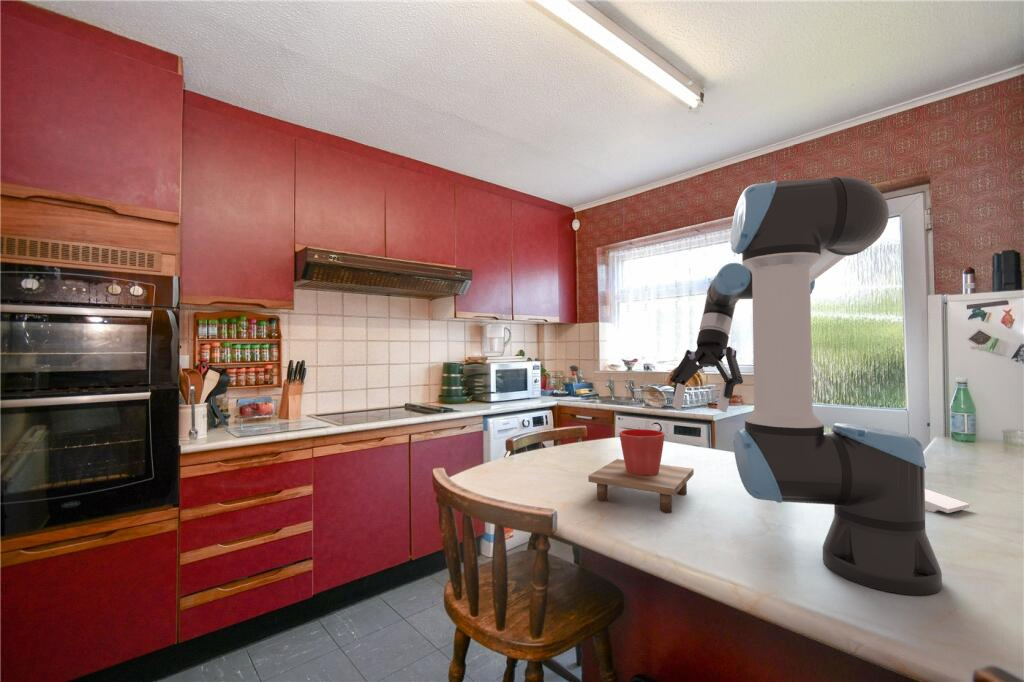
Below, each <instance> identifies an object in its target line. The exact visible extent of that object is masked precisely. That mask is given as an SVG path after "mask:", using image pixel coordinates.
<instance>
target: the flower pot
mask: <svg viewBox="0 0 1024 682" xmlns="http://www.w3.org/2000/svg"><path fill="white" fill-rule="evenodd" d="M619 439H620V445H621V450H622V451H621V452H622V458H623V460H624V462H625V466H626V470H627V472H629V473H631V474H635V475H655V474H657V473H659V468H660V464H661V462H662V456H663V449H664V444H665V443H664V441H665V433H664V432H663V431H661V430H654V429H644V428H642V429H641V428H633V429H624V430H620V431H619Z"/></svg>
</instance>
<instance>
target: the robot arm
mask: <svg viewBox="0 0 1024 682" xmlns="http://www.w3.org/2000/svg"><path fill="white" fill-rule="evenodd" d="M889 211H890V210H889V205H888V202H887V200H886V198H885V196H884V194H883V193H882V192H881V191H880V190H879V189H878V188H877V187H876V186H875V185H873V184H871V183H870V182H869V181H866V180H863V179H861V178H857V177H852V176H833V177H824V178H823V177H822V178H810V179H809V178H808V179H807V178H806V179H795V180H793V179H792V180H791V179H790V180H779V181H778V180H772V181H770V182H763V183H762V182H761V183H755V184H751V185H749V186H747V187H746V188H745V189H744V190H743V191H742V193H741V194H740V196H739V199H738V201H737V204H736V207H735V210H734V214H733V219H732V224H731V230H730V231H731V232H730V245H731V246H730V249H731V251H732V253H734V254H737V255H740V254H741V256H742V257H741V258H742V259H741V260H742V261H741V262H742V263H738V262H728V263H726V264H723V266H721V268H719V270H718V271H717V272H716V274H715V276H714V278H713V279H712V280H711V281H710V283H709V286H708V288H707V290H706V291H707V292H706V300H705V303H704V308H703V313H702V317H701V321H700V325H699V331H698V334H697V339H696V346H697V347H696V350H695V351H692V350H690V349H687V350H686V351H685V353H684V357H683V358H682V360H681V361H680V363H679V364H678V365H677V368H675V371H674V372H673V373H672V375H671V376H670V378H669V380H670V382H672V383H673V384H674V388H673V392H672V393H673V400H672V401H673V402H672V405H671V407H673V408H674V409H676V410H680V411H681V410H682V407H683V401H684V399H685V398H684V397H685V394H686V389H687V388H686V387H687V386H685V384H686V383H688V382H689V381H690V380H691V378H692V377H693V376H695V374H696V373H697V372H698V371H699V370H702V369H703V368H709V367H711V368H716V369H717V371H718V372H719V374H720V376H721V377H722V378H723V380H724V381H723V382H722V383H721V385H720V389H719V396H718V400H717V405H716V409H717V410H719V411H721V412H722V413H727V411H728V407H729V406H728V405H729V401H730V399H732V397H733V394H734V393H733V392H734V388H735V386H736V385H742V384H743V383H744V380H743V377H742V373H741V370H740V366H739V363H738V360H737V350H736V349H734V348H733V347H731V346H728V344H729V339H730V337H729V336H730V333H731V329H732V328H731V327H732V323H733V317H734V312H735V309H736V305H737V303H738V302H739V300H752V340H753V341H752V345H753V346H752V347H753V349H752V350H753V353H752V354H753V395H754V396H753V405H754V406H753V410H752V411H751V412H750V413H748V415H747V416H746V417H745V418H744V428H740V429H736V431H734V433H733V453H734V459H735V464H736V467H737V471H738V475H739V478H740V480H741V484H742V485H743V487H744V489H745V490H746V492H747V493H748V495H749V496H751V497H752V498H754V499H757V500H762V501H769V502H776V503H777V504H781V503H798V504H799V503H800V504H814V505H816V504H817V505H831V506H834V507H833V510H834V511H833V512H834V513H833V514H834V515H833V519H832V521H831V524H830V527H829V529H828V530H827V531H828V532H827V535H826V536H825V539H824V541H823V545H822V561H823V563H824V565H825V566H826V567H827V568H828V569H830V570H831V571H832V572H834V573H835V574H837V575H839V576H840V577H843V578H845V579H847V580H849V581H852V582H854V583H857V584H860V585H862V586H866V587H868V588H872V589H877V590H880V591H884V592H890V593H894V594H901V595H910V596H912V595H913V596H919V595H920V596H924V595H926V596H927V595H932V594H936V593H939V592H941V590H942V588H943V573H942V569H941V567H940V564H939V561H938V560H937V557H936V555H935V552H934V549H933V547H932V545H931V542H930V540H929V538H928V537H929V536H928V535H927V532H926V510H925V489H926V486H925V485H926V483H925V482H926V481H925V479H926V477H925V469H927V466H926V462H925V456H924V454H925V453H924V449H923V448H924V447H923V444H921V442H920V441H919V440H918V439H917V438H916V437H914V436H912V435H909V434H906V433H902V432H898V431H893V430H888V429H885V428H884V429H883V428H878V427H873V426H867V425H860V424H853V423H845V422H844V423H842V422H841V423H839V422H836V423H834V424H833V425H832V428H831V432H825V423H824V422H823V421H822V420H821V419H820V418H819V417H818V416H816V414H815V413H814V409H813V373H812V372H813V370H812V367H813V366H812V365H813V363H812V315H811V314H812V313H811V312H812V310H811V309H812V308H811V294H812V293H813V290H814V289H815V284H816V279H818V278H819V277H821V275H823V274H824V273H826V272H827V271H828V270H830V269H831V268H832V267H834V266H835V265H836V264H837V263H839V262H840V261H842V260H843V259H844V258H846V257H851V256H855V255H858V254H861V253H862V252H863V251H865V250H866V249H868V248H869V247H870V246H872V245H873V244H874V243H876V242H877V241H878V240H879V239H880V238H881V236H882V235H883V234H884V232H885V230H886V227H887V226H888V222H889V216H890V213H889ZM724 357H725V358H726V363H727V365H728V368H727V367H726V365H725V363H724V362H723V358H724ZM728 370H729V371H728Z"/></svg>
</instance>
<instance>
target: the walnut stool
mask: <svg viewBox="0 0 1024 682" xmlns="http://www.w3.org/2000/svg"><path fill="white" fill-rule="evenodd" d="M694 474H695V473H694V468H691V467H685V466H677V465H668V464H661V463H660V468H659V473H657V474H655V475H635V474H631V473H629V472H627V470H626V466H625V462H624V459H623V458H622V459H621V458H616V459H614V460H612V461H611V462H609V463H607V464H606V465H604V466H603V467H601V468H599V469H597V470H595V471H594V472H592V473H591V474H588V477H587V478H588V481H587V482H589V483H592V484H596V501H599V502H608V500H609V489H608V487H609V486H612V487H619V488H623V489H630V490H636V491H643V492H649V493H653V494H659V512H661V513H664V514H671V513H673V504H672V503H673V496H675V495H679V496H686V495H687V494H688V491H687V490H688V485H687V484H688V482H689V481H690V479H691V478H692V477H693V475H694Z"/></svg>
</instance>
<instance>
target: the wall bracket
mask: <svg viewBox="0 0 1024 682" xmlns="http://www.w3.org/2000/svg"><path fill="white" fill-rule="evenodd" d="M967 509H970V503H967V502H964V501H962V500H959V499H956V498H953V497H951V496H948V495H944V494H941V493H939V492H935V491H933V490H931V489H930V490H929V489H926V488H925V511H926V512H927V511H929V512H931V513H936V512H939V511H941V512H944V513H946V514H949V513H953V512H958V511H962V510H967Z"/></svg>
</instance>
